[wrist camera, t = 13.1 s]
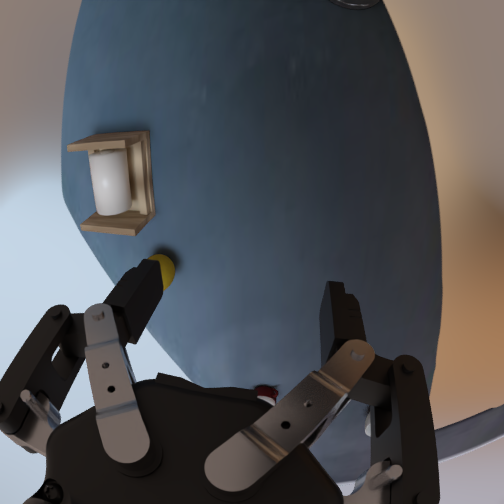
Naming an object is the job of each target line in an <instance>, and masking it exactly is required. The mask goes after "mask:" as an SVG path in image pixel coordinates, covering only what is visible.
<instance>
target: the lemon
mask: <svg viewBox="0 0 504 504" xmlns="http://www.w3.org/2000/svg"><path fill="white" fill-rule="evenodd" d="M148 259H151V260H158V261H159V262H160V266H161V273H162V279H163V286H164V289H163V291H164V290H165V289H167V288H168V287H169V286H170V284H171V283H172V281H173V279H174V276H175V267H174V264H173V262H172V261H171V259H170V258H169V257H167V256H165V255H162V254H156V255H153V256H150V257H149V258H148Z"/></svg>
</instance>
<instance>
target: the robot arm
mask: <svg viewBox="0 0 504 504" xmlns="http://www.w3.org/2000/svg"><path fill="white" fill-rule="evenodd" d="M329 1H331V2H333V3H334V4H336V5H339V6H341V7H344V8H348V9H356V10H357V9H366V8H370V7H372V6H374V5H376V4H377V3H378V2H379V1H380V0H329ZM163 289H164V286H163V279H162V273H161V266H160V262H159V261H158V260H151V259H143V260H142V261H141V263H140V264H139V265H138V267H137V268H136V267H133V268H132V269H130V270H129V271H127V272H126V273H125V274H124V275H123V276H122V278H121V280H119V282H118V283H117V284H116V286H115V287H114V288H113V290H112V291H111V293H110V294H109V295H108V296H107V298H106V299H105V301H104V302H103V303H99V304H95V305H92V306H91V307H89V308H88V309H87V310H86V311H85V313H74V314H71V313H70V310H69V308H68V307H67V306H66V305H55V306H53V307H51V308H50V309H48V311H47V312H46V313H45V315H44V316H43V317H42V318H41V320H40V321H39V323H38V324H37V325H36V327H35V328H34V330H33V331H32V333H31V334H30V335H29V337H28V338H27V340H26V341H25V343H24V344H23V346H22V347H21V349H20V351H19V352H18V353H17V355H16V356H15V358H14V360H13V361H12V363H11V364H10V366H9V367H8V369H7V371H6V372H5V374H4V376H3V378H2V379H1V381H0V430H1V431H2V432H3V433H4V434H5V435H6V436H8V437H9V438H10V439H11V440H13V441H14V442H15V443H16V444H18V445H20V446H21V447H22V448H24V449H25V450H26V451H28V452H30V453H40V454H42V455H44V456H46V475H45V480H44V483H43V485H42V486H41V487H40V489H39V490H38V491H37V492H36V493H35V494H34V495H33V496H31V497H30V498H29V499H27V500H26V501H25V502H24V503H23V504H439V501H440V486H439V470H438V458H437V448H436V439H435V432H434V425H433V418H432V412H431V406H430V400H429V395H428V389H427V384H426V379H425V375H424V370H423V366H422V364H421V363H420V361H419V360H417V359H416V358H415V357H413V356H410V355H400V356H398V357H397V358H396V359H395V360H394V361H393V360H389V359H386V358H383V357H380V356H378V355H376V354H375V352H374V349H373V348H372V347H371V345H369V344H368V343H367V341H366V335H365V330H364V325H363V320H362V315H361V312H360V306H359V302H358V300H357V299H356V298H355V296H354V295H353V294H346V293H345V288H344V283H343V282H335V281H327V283H326V287H325V291H324V295H323V299H322V303H321V308H320V316H319V320H320V341H321V369H320V370H319V371H317V372H316V371H312V372H311V373H310V374H308V375H307V376H306V377H305V378H304V379H303V380H302V381H301V382H300V383H299V384H298V385H297V386H296V387H295V388H294V389H293V390H291V391H290V392H289V393H288V394H287V395H286V396H285V397H284V398H283V399H282V400H280V401H279V402H278V403H277V404H276V405H275V406H273V405H272V404H270V403H269V402H267V401H265V400H263V399H260V398H257V395H258V390H250V389H243V388H236V387H222V388H204V387H201V386H199V385H196V384H194V383H192V382H190V381H188V380H185V379H183V378H181V377H176V376H172V375H167V374H163V373H158V375H157V377H156V379H149V380H143V381H139V382H136V379H135V376H134V373H133V370H132V367H131V364H130V361H129V357H128V354H127V351H126V348H125V347H126V345H127V343H132V344H137V342H138V340H139V338H140V336H141V334H142V332H143V331H144V329H145V327H146V325H147V323H148V321H149V320H150V318H151V316H152V314H153V312H154V310H155V309H156V307H157V305H158V303H159V301H160V300H161V298H162V295H163ZM58 346H59V347H60V349H59V351H58V352H57V354H56V356H55V358H54V359H53V361H51V360H52V356H53V354H54V352H55V350H56V349H57V347H58ZM85 358H86V362H87V368H88V374H89V379H90V384H91V389H92V394H93V399H94V403H95V406H93V407H91V408H90V409H88V410H86V411H84V412H82V413H81V414H79V415H77V416H75V417H73V418H71V419H70V420H68V421H66V422H64V423H62V424H60V422H61V416H60V413H59V411H60V409H61V407H62V404H63V402H64V400H65V398H66V396H67V394H68V392H69V390H70V388H71V386H72V384H73V382H74V380H75V378H76V376H77V374H78V372H79V370H80V368H81V366H82V364H83V362H84V360H85ZM351 399H353V400H356V401H359V402H362V403H365V404H369V405H370V425H371V467H370V468H369V469H367V470H366V471H365V472H364V473H362V474H361V475H360V476H359V477H358V479H357V480H356V483H355V487H354V490H353V492H352V493H351V494H350V495H348V496H343V495H342V492H341V490H340V488H339V487H338V485H337V484H336V483H335V482H334V481H333V479H332V478H331V477H330V476H329V474H328V473H327V472H326V471H325V469H324V468H323V467H322V466H321V464H320V463H319V462H318V460H317V459H316V458H315V457H314V455H313V454H312V453H311V451H310V450H309V448H310V447H311V446H312V445H313V444H314V443H315V442H316V441H317V440H318V438H319V437H320V436H321V435H322V434H323V432H324V431H325V430H326V429H327V427H328V426H329V425H330V424H331V423H332V421H333V420H334V419H335V418H336V417H337V416H338V414H339V413H340V412H341V411H342V410H343V409H344V407H345V406H346V405H347V404H348V403H349V401H350V400H351Z"/></svg>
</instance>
